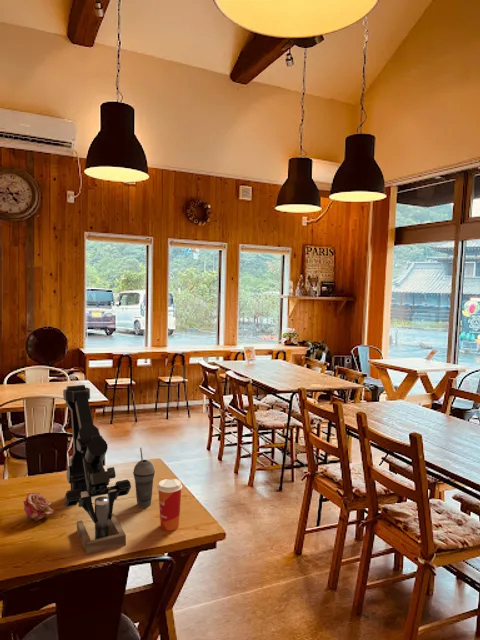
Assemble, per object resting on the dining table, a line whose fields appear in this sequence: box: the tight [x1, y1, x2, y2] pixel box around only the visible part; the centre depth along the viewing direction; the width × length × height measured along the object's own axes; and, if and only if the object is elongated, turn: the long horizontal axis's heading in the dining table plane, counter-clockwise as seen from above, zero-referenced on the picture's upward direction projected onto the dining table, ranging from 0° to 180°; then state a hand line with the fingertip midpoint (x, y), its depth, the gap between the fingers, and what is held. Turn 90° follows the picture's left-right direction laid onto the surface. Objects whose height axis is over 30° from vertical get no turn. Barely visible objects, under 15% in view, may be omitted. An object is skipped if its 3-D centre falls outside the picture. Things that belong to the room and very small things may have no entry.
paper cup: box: [157, 478, 183, 532], centre depth 148 cm, size 8×8×14 cm
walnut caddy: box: [76, 513, 127, 556], centre depth 142 cm, size 14×11×3 cm
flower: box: [23, 492, 54, 522], centre depth 153 cm, size 10×9×8 cm
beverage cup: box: [132, 447, 156, 509], centre depth 162 cm, size 7×7×20 cm
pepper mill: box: [94, 495, 110, 540], centre depth 140 cm, size 4×4×12 cm
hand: (103, 521), depth 139 cm, fingers closed on pepper mill, 4 cm apart
